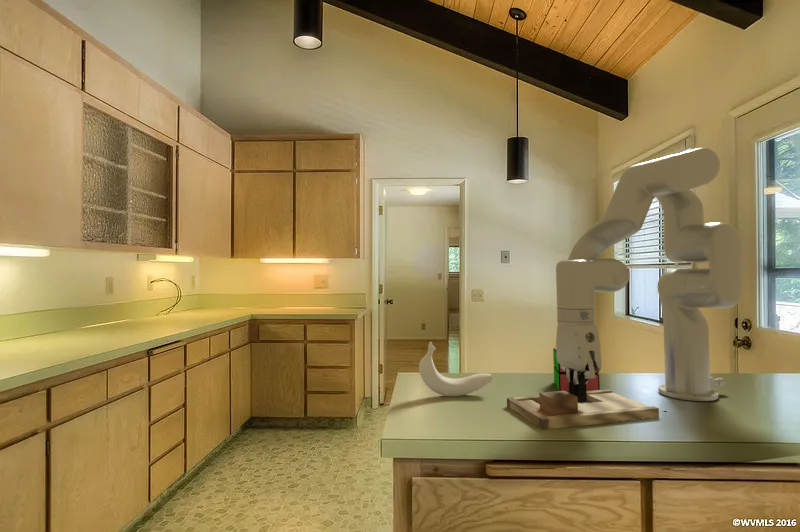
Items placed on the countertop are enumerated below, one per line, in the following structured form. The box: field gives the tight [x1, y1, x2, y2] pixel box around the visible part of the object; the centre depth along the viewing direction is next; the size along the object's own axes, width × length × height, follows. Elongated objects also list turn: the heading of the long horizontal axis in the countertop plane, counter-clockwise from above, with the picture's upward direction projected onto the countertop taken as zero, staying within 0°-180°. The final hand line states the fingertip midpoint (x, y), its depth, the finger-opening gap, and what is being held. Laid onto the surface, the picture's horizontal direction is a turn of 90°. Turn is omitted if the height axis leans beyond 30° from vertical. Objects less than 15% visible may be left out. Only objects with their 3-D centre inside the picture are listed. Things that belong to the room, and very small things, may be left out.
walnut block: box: [538, 390, 578, 416], centre depth 94 cm, size 6×5×4 cm
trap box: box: [506, 388, 660, 430], centre depth 98 cm, size 27×16×2 cm, turn 102°
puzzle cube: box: [552, 347, 601, 391], centre depth 119 cm, size 10×10×10 cm
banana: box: [418, 341, 494, 397], centre depth 112 cm, size 5×19×15 cm, turn 101°
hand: (577, 400), depth 95 cm, fingers closed
